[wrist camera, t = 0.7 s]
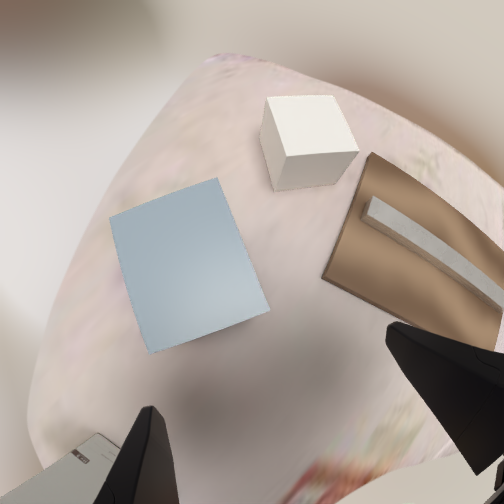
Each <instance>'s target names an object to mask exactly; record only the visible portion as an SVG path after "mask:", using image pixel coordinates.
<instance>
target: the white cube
mask: <svg viewBox="0 0 504 504" xmlns="http://www.w3.org/2000/svg"><path fill="white" fill-rule="evenodd" d="M259 140H260V143H261V147H262V150H263V154H264V157H265V161H266V164H267V168H268V172H269V175H270V179H271V182H272V186H273V190H274V192H280V191H287V190H294V189H301V188H309V187H316V186H324V185H333V184H336V182H337V181H338V180H339V178H340V177H341V176H342V174H343V173H344V172H345V170H346V169H347V167H348V166H349V165H350V163H351V162H352V161H353V159H354V158H355V157H356V155H357V154H358V152H359V151H360V150H359V148H358V146H357V144H356V141H355V139H354V137H353V135H352V133H351V130H350V128H349V126H348V124H347V122H346V120H345V118H344V116H343V114H342V112H341V110H340V108H339V106H338V104H337V102H336V100H335V98H334V96H331V95H304V96H277V97H266V102H265V108H264V114H263V119H262V125H261V131H260V137H259Z"/></svg>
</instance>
